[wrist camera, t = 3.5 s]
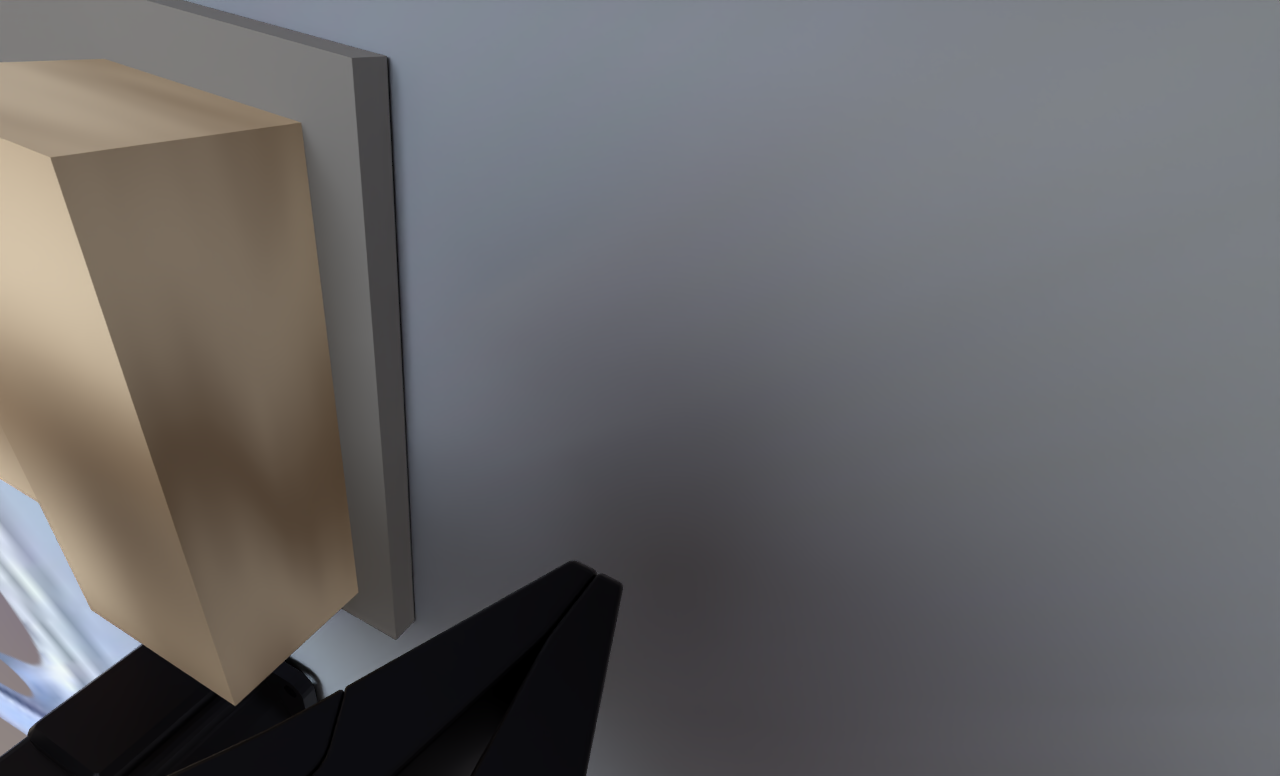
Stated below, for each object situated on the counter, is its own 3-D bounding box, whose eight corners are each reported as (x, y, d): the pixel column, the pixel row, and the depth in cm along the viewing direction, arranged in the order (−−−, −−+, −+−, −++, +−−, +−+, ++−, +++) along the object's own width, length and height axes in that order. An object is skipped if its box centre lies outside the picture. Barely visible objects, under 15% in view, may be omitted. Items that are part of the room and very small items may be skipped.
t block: (358, 592, 14) (234, 706, 12) (15, 399, 17) (-137, 458, 15) (301, 122, 9) (49, 157, 6) (-185, -35, 12) (-474, -51, 10)
